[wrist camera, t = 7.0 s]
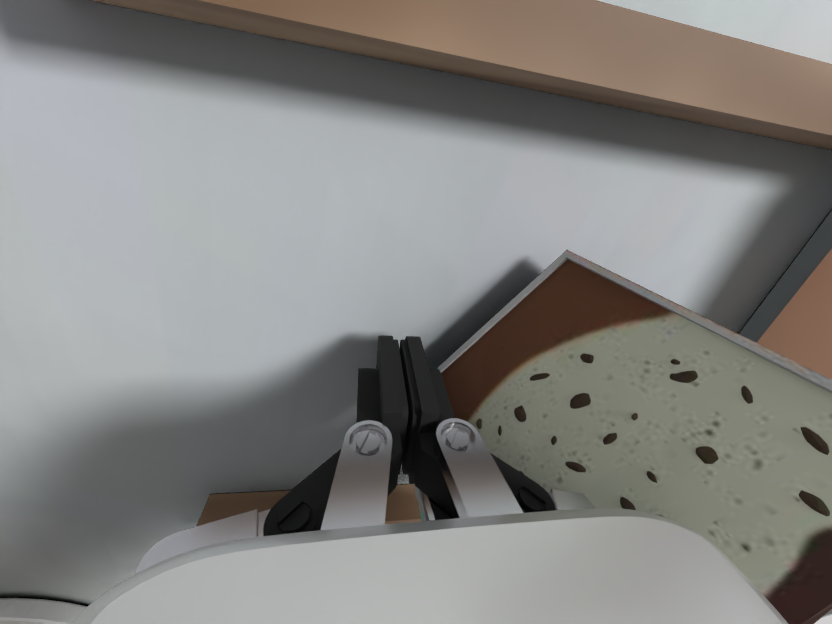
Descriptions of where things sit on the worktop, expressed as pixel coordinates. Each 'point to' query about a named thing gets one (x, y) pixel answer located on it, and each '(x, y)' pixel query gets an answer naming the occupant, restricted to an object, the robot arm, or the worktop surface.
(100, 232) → the worktop surface
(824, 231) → the end stop
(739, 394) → the food container
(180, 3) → the guide track
